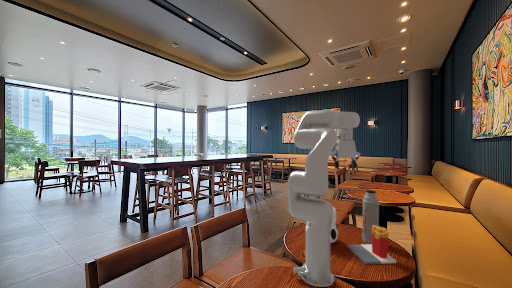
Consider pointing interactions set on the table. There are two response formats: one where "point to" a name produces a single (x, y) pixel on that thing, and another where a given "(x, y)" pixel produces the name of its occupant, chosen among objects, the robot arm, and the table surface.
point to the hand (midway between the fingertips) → (345, 168)
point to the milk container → (333, 228)
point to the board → (369, 254)
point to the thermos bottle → (369, 214)
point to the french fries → (379, 241)
